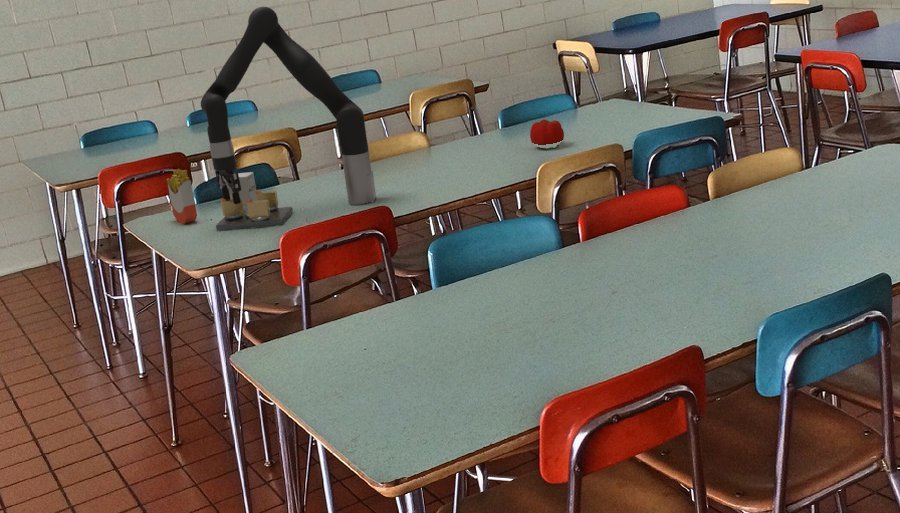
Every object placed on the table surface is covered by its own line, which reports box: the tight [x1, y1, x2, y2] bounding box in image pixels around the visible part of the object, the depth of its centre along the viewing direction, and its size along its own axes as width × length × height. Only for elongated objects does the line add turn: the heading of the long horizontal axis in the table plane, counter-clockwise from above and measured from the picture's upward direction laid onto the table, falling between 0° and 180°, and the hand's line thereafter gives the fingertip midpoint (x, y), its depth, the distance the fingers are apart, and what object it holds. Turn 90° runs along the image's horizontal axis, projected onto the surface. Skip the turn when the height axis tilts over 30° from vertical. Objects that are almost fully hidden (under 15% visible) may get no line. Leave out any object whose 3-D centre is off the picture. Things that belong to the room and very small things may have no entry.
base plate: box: [215, 206, 294, 232], centre depth 348 cm, size 22×16×4 cm
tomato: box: [529, 119, 565, 145], centre depth 409 cm, size 14×13×10 cm
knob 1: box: [220, 197, 244, 220], centre depth 348 cm, size 6×6×7 cm
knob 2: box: [256, 189, 279, 211], centre depth 353 cm, size 6×6×7 cm
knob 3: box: [247, 199, 270, 222], centre depth 341 cm, size 6×6×7 cm
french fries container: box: [166, 168, 198, 225], centre depth 357 cm, size 5×11×18 cm, turn 37°
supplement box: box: [229, 171, 257, 211], centre depth 365 cm, size 7×7×13 cm
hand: (232, 201), depth 348 cm, fingers open, 8 cm apart
